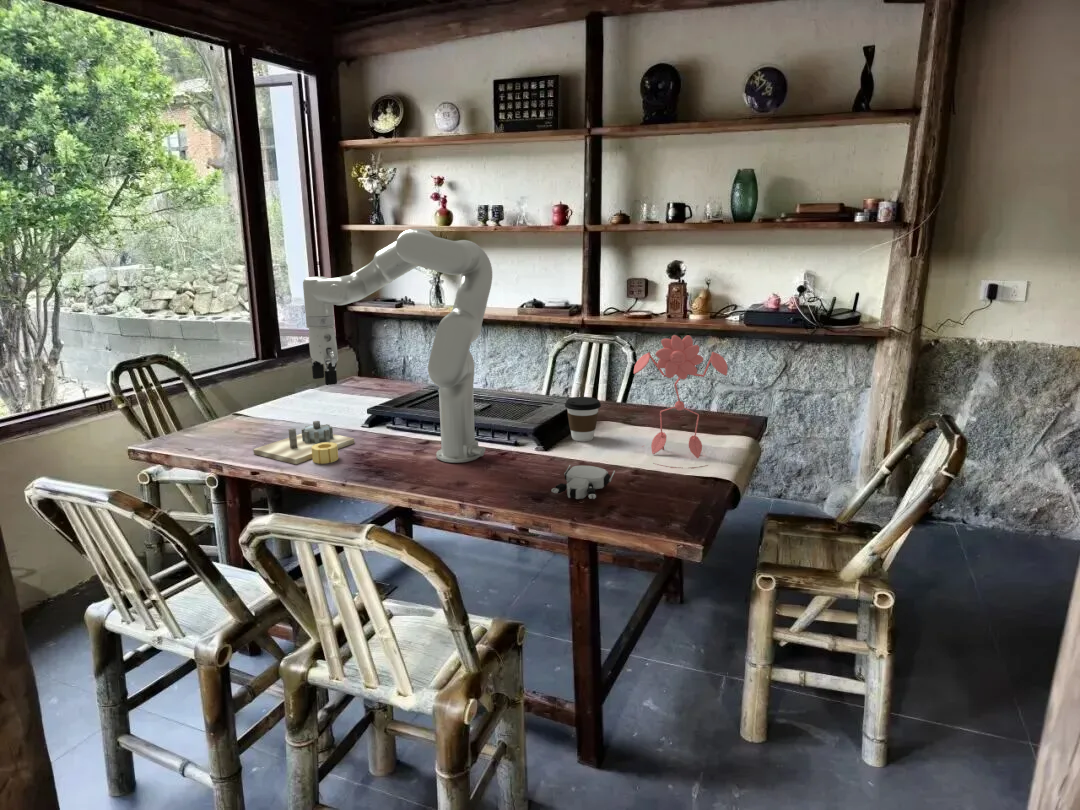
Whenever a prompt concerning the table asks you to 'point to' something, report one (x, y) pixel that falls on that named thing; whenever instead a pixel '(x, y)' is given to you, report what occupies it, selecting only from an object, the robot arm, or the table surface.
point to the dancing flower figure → (680, 362)
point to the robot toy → (583, 481)
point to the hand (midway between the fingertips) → (324, 381)
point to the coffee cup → (582, 417)
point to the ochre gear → (324, 452)
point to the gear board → (302, 443)
